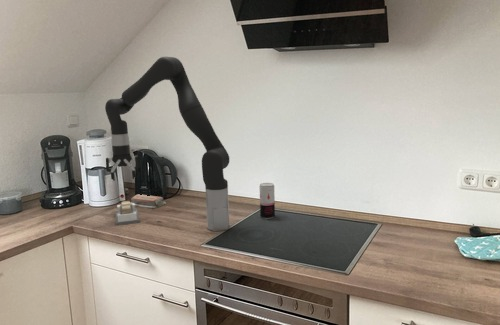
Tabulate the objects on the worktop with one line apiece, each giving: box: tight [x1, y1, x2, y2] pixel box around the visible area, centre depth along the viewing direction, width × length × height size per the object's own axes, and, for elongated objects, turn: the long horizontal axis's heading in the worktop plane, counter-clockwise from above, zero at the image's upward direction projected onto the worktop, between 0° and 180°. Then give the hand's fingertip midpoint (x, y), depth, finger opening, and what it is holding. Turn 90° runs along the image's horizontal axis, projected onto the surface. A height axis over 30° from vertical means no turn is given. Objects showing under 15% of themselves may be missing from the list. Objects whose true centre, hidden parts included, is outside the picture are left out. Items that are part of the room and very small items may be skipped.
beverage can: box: [259, 182, 276, 220], centre depth 178 cm, size 7×7×15 cm
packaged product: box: [130, 193, 167, 210], centre depth 205 cm, size 18×5×10 cm
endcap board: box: [115, 203, 140, 226], centre depth 184 cm, size 19×10×4 cm, turn 18°
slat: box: [121, 200, 131, 214], centre depth 184 cm, size 14×4×5 cm, turn 18°
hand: (123, 179), depth 181 cm, fingers open, 8 cm apart
